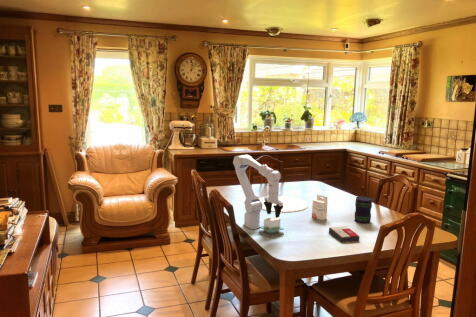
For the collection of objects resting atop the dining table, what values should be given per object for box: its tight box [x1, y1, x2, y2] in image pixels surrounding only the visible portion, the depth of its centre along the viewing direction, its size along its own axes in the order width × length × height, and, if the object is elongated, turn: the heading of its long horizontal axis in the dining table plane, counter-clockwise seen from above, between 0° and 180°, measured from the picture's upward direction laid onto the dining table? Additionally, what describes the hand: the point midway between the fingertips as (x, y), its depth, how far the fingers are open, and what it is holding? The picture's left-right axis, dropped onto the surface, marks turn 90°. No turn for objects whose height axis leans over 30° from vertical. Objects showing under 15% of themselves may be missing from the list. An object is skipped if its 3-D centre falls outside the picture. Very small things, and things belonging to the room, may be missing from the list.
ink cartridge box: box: [311, 194, 328, 221], centre depth 249 cm, size 9×5×15 cm, turn 44°
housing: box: [263, 216, 281, 230], centre depth 220 cm, size 5×10×5 cm, turn 124°
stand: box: [258, 225, 285, 238], centre depth 221 cm, size 10×10×4 cm
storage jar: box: [353, 196, 373, 225], centre depth 244 cm, size 10×10×15 cm
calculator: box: [328, 225, 360, 243], centre depth 217 cm, size 11×4×15 cm
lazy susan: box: [258, 195, 309, 213], centre depth 280 cm, size 40×39×3 cm
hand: (273, 215), depth 220 cm, fingers open, 7 cm apart
